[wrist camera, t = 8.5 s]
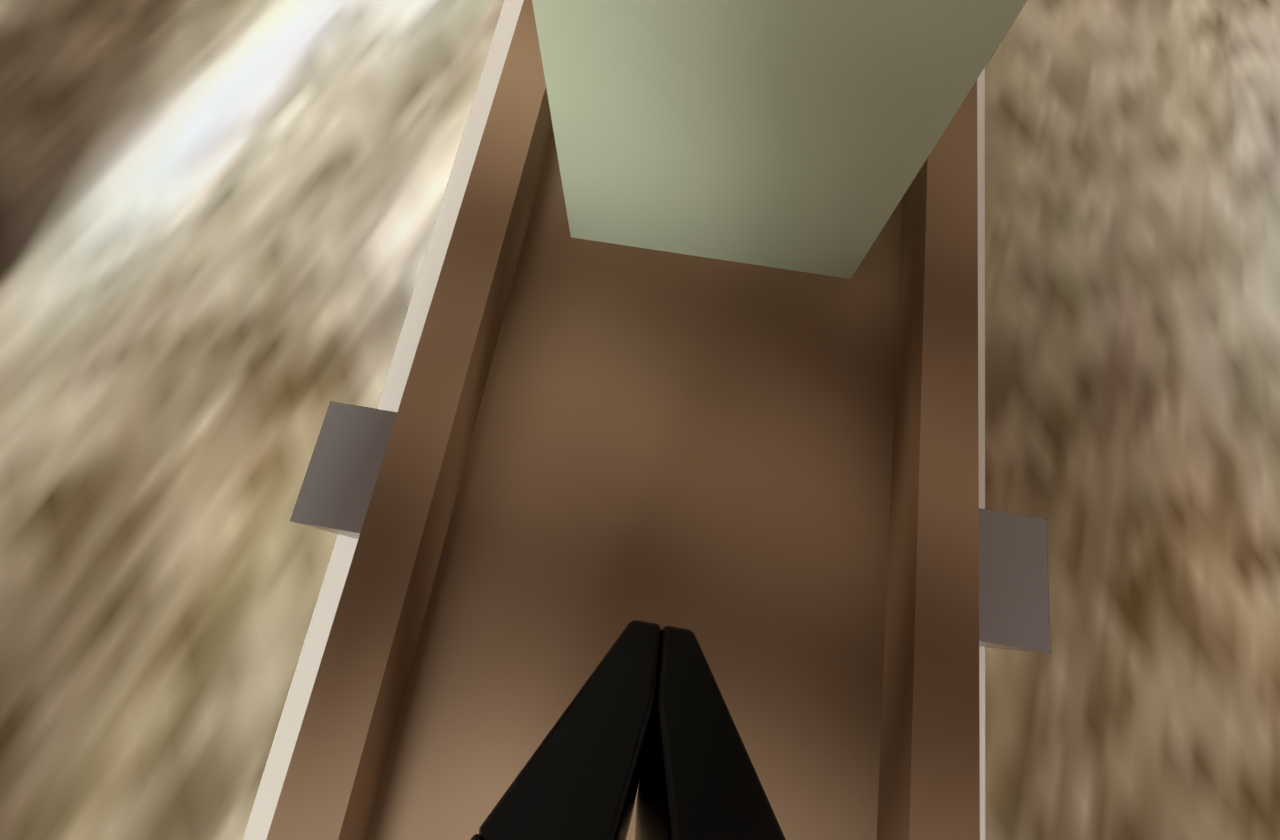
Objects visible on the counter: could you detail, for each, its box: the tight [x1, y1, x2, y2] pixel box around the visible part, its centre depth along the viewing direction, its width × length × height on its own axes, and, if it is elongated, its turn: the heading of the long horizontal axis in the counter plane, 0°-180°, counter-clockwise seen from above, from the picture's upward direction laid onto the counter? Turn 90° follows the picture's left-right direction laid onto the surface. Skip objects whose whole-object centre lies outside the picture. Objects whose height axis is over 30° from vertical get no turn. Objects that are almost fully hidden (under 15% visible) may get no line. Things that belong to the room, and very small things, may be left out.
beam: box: [266, 0, 980, 840], centre depth 12 cm, size 24×10×5 cm, turn 170°
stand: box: [243, 0, 1051, 840], centre depth 15 cm, size 28×16×5 cm, turn 170°
